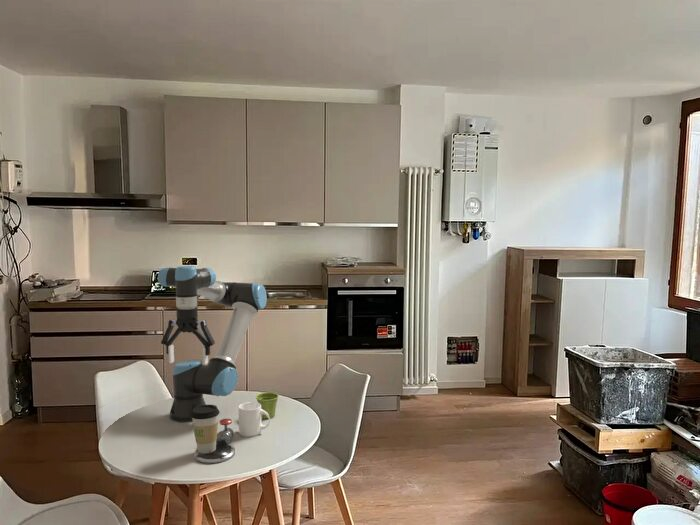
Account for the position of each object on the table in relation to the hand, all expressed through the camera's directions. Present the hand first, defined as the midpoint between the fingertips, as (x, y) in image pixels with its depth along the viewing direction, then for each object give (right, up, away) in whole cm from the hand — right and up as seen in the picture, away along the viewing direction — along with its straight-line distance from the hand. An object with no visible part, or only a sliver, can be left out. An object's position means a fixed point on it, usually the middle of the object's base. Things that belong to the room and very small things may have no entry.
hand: (188, 363), depth 200 cm
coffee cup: (+10, -29, -11) cm, 32 cm away
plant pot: (+26, -27, +23) cm, 44 cm away
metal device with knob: (+13, -30, -9) cm, 34 cm away
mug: (+24, -28, +6) cm, 38 cm away
